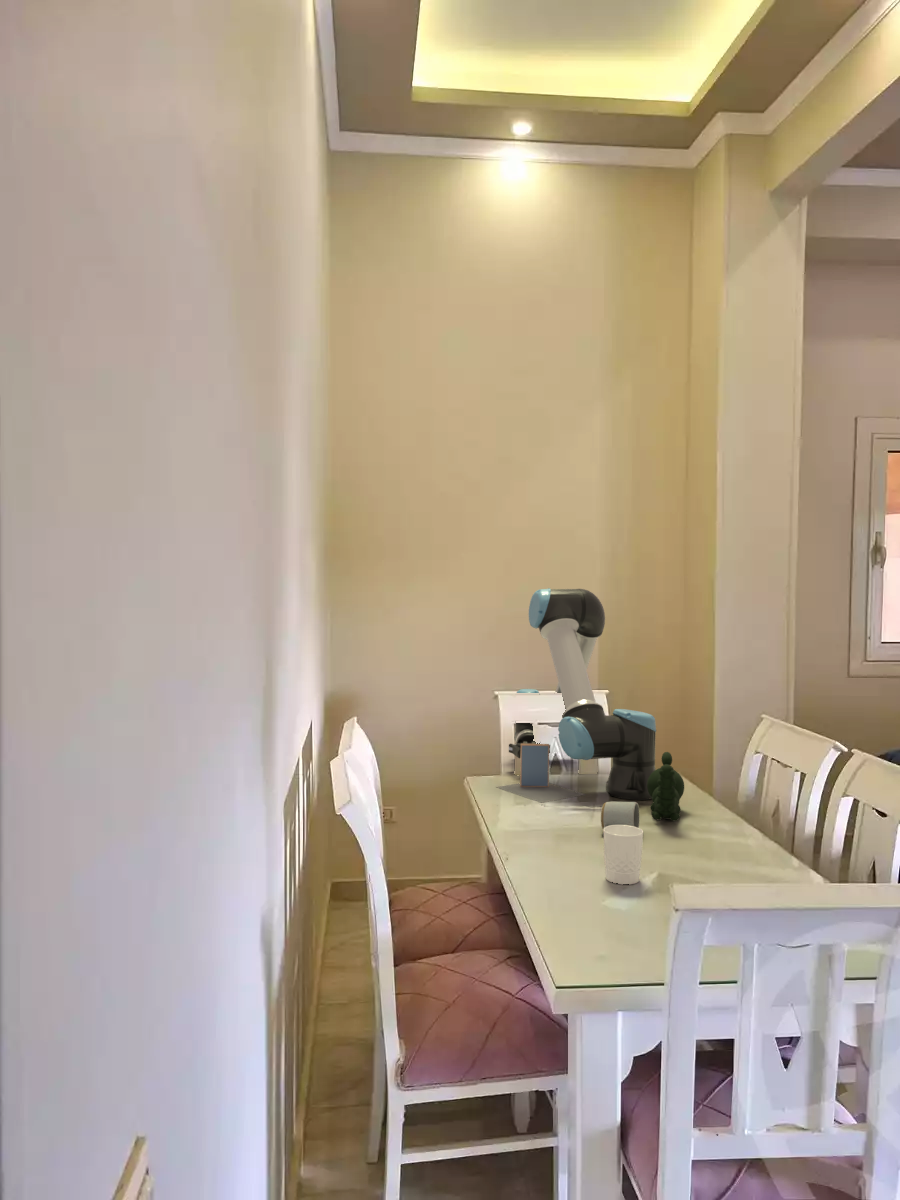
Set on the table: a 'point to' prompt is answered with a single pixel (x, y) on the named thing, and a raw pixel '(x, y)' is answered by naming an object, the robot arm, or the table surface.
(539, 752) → the tile
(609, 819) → the ceramic mug
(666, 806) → the toy figurine
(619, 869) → the white cup
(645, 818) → the table surface
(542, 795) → the mat
